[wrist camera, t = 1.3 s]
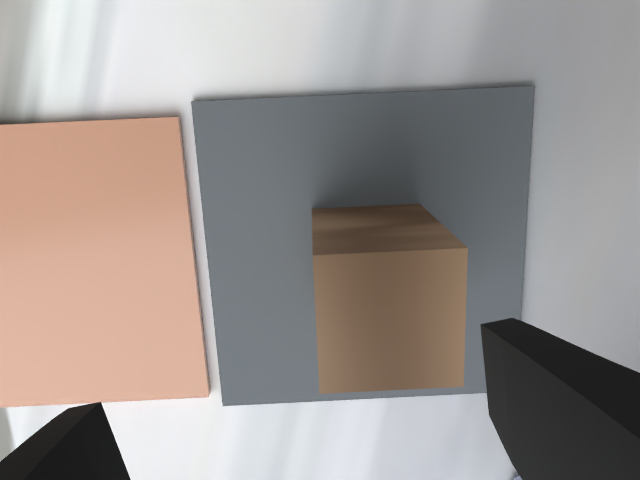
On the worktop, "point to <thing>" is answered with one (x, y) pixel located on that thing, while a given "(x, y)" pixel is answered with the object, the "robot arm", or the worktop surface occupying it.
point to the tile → (97, 265)
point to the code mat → (352, 191)
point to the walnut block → (388, 299)
